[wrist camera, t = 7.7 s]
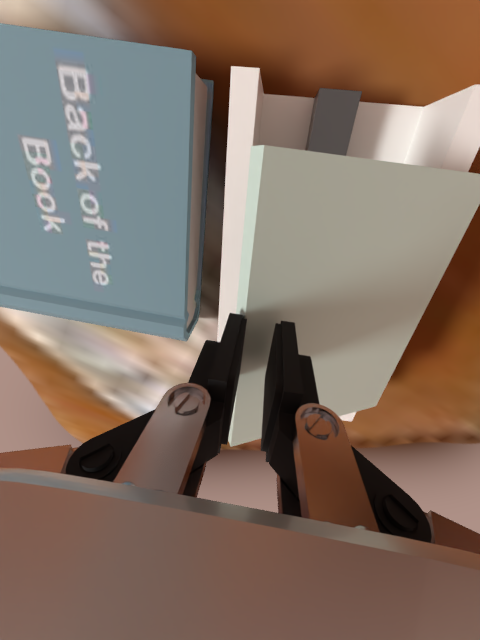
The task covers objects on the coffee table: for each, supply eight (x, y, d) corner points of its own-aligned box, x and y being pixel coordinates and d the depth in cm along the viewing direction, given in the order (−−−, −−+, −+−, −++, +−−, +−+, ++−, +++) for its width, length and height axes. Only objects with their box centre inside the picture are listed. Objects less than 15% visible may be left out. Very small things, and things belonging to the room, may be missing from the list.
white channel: (243, 95, 15) (231, 65, 11) (438, 111, 14) (507, 86, 10) (224, 360, 25) (214, 399, 21) (338, 377, 25) (351, 421, 20)
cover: (250, 145, 8) (264, 144, 7) (469, 174, 12) (494, 175, 11) (225, 431, 15) (230, 446, 14) (365, 395, 19) (375, 406, 18)
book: (215, 83, 15) (191, 50, 11) (200, 315, 24) (183, 348, 19) (-138, 32, 16) (-287, -18, 12) (-34, 273, 24) (-100, 295, 20)
